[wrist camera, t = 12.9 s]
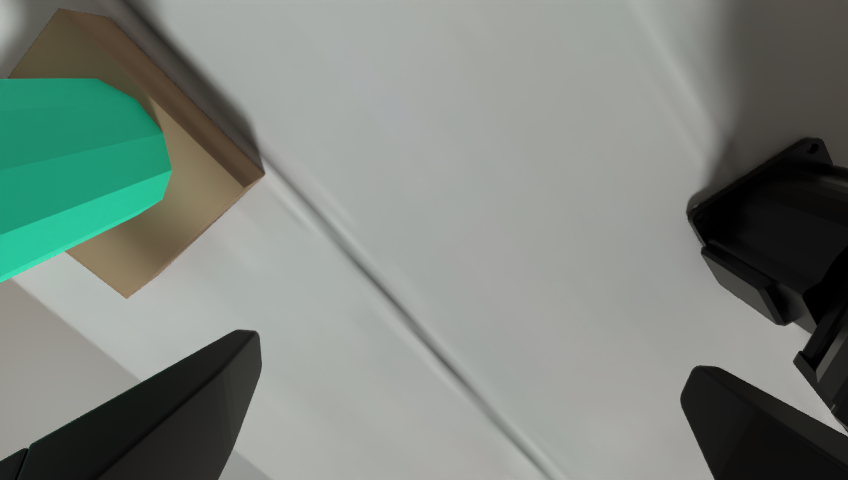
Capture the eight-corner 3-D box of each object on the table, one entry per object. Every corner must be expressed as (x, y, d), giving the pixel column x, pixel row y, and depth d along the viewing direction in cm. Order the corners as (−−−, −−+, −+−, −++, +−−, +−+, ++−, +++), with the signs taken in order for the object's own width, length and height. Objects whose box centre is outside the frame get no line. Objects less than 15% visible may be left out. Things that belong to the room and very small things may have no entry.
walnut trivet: (108, 17, 17) (58, 8, 15) (265, 174, 20) (243, 188, 17) (4, 150, 19) (-53, 160, 17) (157, 275, 22) (126, 298, 20)
